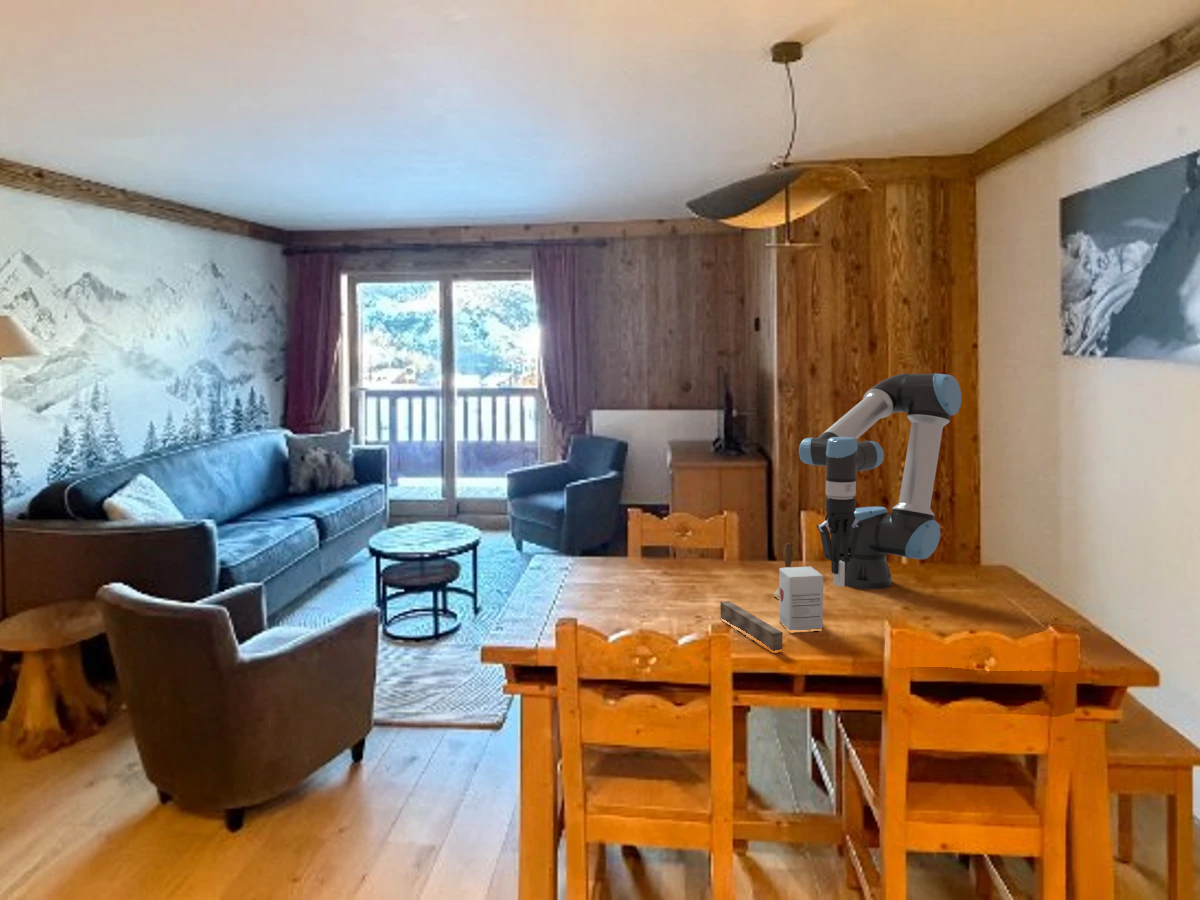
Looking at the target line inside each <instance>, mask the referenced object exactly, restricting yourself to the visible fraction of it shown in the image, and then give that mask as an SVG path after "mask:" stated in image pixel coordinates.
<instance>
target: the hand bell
mask: <svg viewBox="0 0 1200 900" xmlns="http://www.w3.org/2000/svg"><path fill="white" fill-rule="evenodd" d="M793 553H794V552H793V548H792V545H791V542H787V543H786V544H785V546H784V549H783V560H784V564H785V565H784V566H785V567H791V566H792V560H793V556H794V555H793ZM785 567H784V568H785ZM773 594H774V595H775V596H776V597H779V585H778V587H777V589H776V591H774V592H773Z"/></svg>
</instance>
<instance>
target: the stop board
mask: <svg viewBox="0 0 1200 900" xmlns="http://www.w3.org/2000/svg"><path fill="white" fill-rule="evenodd" d="M721 618H722V619H724V620H726V621H727V622H729V623H730V624H732V625H734V626H736V627H738V628H740V629H741V630H743V631H745V632H746V633H748V634H750V635H751V636H753V637H754V638H756V639H757V640H759V641H761V642H762V643H763V644H765V645H766V646H767V647H769V648H770V649H771V650H773V651H775V650H780V649H782V650H783V632H782V630H779V629H778V628H776V627H775V626H772V625H771V624H769V623H768V622H765V621H764V620H762V619H760V618H759V617H757V616H755V615H754V614H752V613H750V612H748V611H746V610H745V609H743V608H742V607H740V606H739V605H737V604H735V603H733V602H732V601H730V600H725V601H720V619H721Z"/></svg>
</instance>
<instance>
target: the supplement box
mask: <svg viewBox="0 0 1200 900" xmlns="http://www.w3.org/2000/svg"><path fill="white" fill-rule="evenodd" d="M778 572H779V576H778V577H779V579H778V581H779V582H778V586H779V599H778V600H779V602H778V603H779V613H778V615H779V618H778V619H780V621H781V622H782V623H783V624H784V625H785V626H786V627H787V628H788V629H789V630H811V629H822V628H824V627H823V625H824V624H823V621H824V620H823V619H824V617H823V616H824V613H823V612H824V607H823V606H824V576H823V574H821V573H820V572H819V571H818V570H816V569H815V568H814V567H812V566H808V565H807V566H795V567H793V566H792V567H780V568H779V570H778Z"/></svg>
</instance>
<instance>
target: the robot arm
mask: <svg viewBox="0 0 1200 900" xmlns="http://www.w3.org/2000/svg"><path fill="white" fill-rule="evenodd" d="M961 405H962V391H961V386H960V385H959V381H958V380H957V379H956V378H955V377H954V376H953V375H951V374H947V373H945V374H944V373H938V372H937V373H900V374H896V375H893V376H889V377H888V378H886V379H883V380H881V381H880V382H878V383H876V384H875V385H873V386H872V387H871V388H870V389H868V390H867V391H866V392H865V393H864V395H863V397H862V400H860V401H859V402H858V403H857V404H856V405H854V406H853V407H852V408H851V409H849V411H847V412H846V413H845V414H844V415H842V417H839V419H838V420H837V421H835V422H834V423H833V424H832V425H831V426H830V427H828V429H826V430H825V431H824V432H822V433H821V434H820V435H819V436H818V437H814V436H813V437H806V438H804V439H802V441H801V442H800V444H799V448H798V455H799V458H800V461H801V462H802V463H804V464H806V465H811V466H815V467H816V466H817V467H819V466H820V467H826V471H825V472H826V473H825V474H826V477H825V495H826V497H825V507H824V508H825V513H826V515H825V517H824V521H823V522H822V523H821V524H820V523H818V524H817V525H816V528H817V530H818V531H819V533H820V538H821V539H820V540H821V544H822V549H823V555H824V558H825V559H826V560H829V561H831V567H830V568H831V573H832V574H833V577H832V584H833V585H835V586H836V587H838V588H841V587H842V588H843V587H845V586H846V587H849V588H854V589H862V590H880V589H881V590H882V589H887V588H889V587H891V586H892V584H893V582H892V581H893V578H892V574H891V570H890V567H889V564H888V561H887V554H888V555H894V556H898V557H903V558H907V559H916V560H925V559H928V558H930V557H931V556H932V554H933V553H934V552H935V550H936V549H937V547H938V545H939V542H940V539H941V530H940V529H941V526H940V524H939V523H938V522H937V521H936V520H935V513H934V512H933V510H932V509H931V504H932V499H933V492H934V485H935V478H936V473H937V466H938V461H939V456H940V455H939V454H940V449H941V442H942V435H943V428H944V427H945V426H946V425H948V424H949V423H950V422H951V421H950V420H951V416H955V415H956V414H958V413H959V410H960V409H961ZM896 413H907V414H906V415H907V417H906V418H907V419H908V420H909V421H910V424H911V425H910V431H909V438H908V444H907V448H906V449H907V450H906V455H905V464H904V467H903V468H904V469H903V475H902V480H901V487H900V493H899V499H898V503H897V504H896V505H894V506H893V507H892V508H891V513H890V514H889V513H888V509H887V508H886V507H884V506H863V507H856V506H857V503H856V502H857V499H856V498H855V496H857V472H861V471H870V470H872V469H875V468H877V467H879V466H881V464H882V463H883V461H884V458H885V454H884V449H883V447H882V446H881V445H880V444H879V443H878V442H876V441H873V440H864V441H858V440H857V439H859V438H860V437H861V436H862V435H864V434H865V433H866V432H867V431H868V430H869V429H870V428H871V427H872V426H874V425H875V424H876V423H877V422H878V421H879V420H880V419H884V418H888V417H889V416H890V415H892V414H896Z"/></svg>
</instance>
